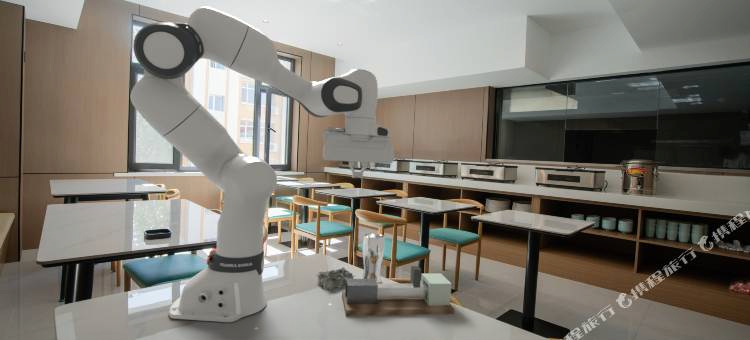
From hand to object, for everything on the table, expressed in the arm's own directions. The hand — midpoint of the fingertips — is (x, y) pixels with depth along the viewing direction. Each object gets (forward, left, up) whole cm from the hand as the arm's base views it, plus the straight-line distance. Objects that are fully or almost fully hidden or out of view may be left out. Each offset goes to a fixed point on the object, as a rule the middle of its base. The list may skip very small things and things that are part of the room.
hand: (357, 178), depth 103 cm
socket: (+23, -7, -34) cm, 42 cm away
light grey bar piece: (+13, -7, -32) cm, 35 cm away
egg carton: (-4, +10, -35) cm, 36 cm away
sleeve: (+2, -7, -33) cm, 33 cm away
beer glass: (+8, +11, -34) cm, 37 cm away
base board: (+12, -7, -34) cm, 37 cm away
